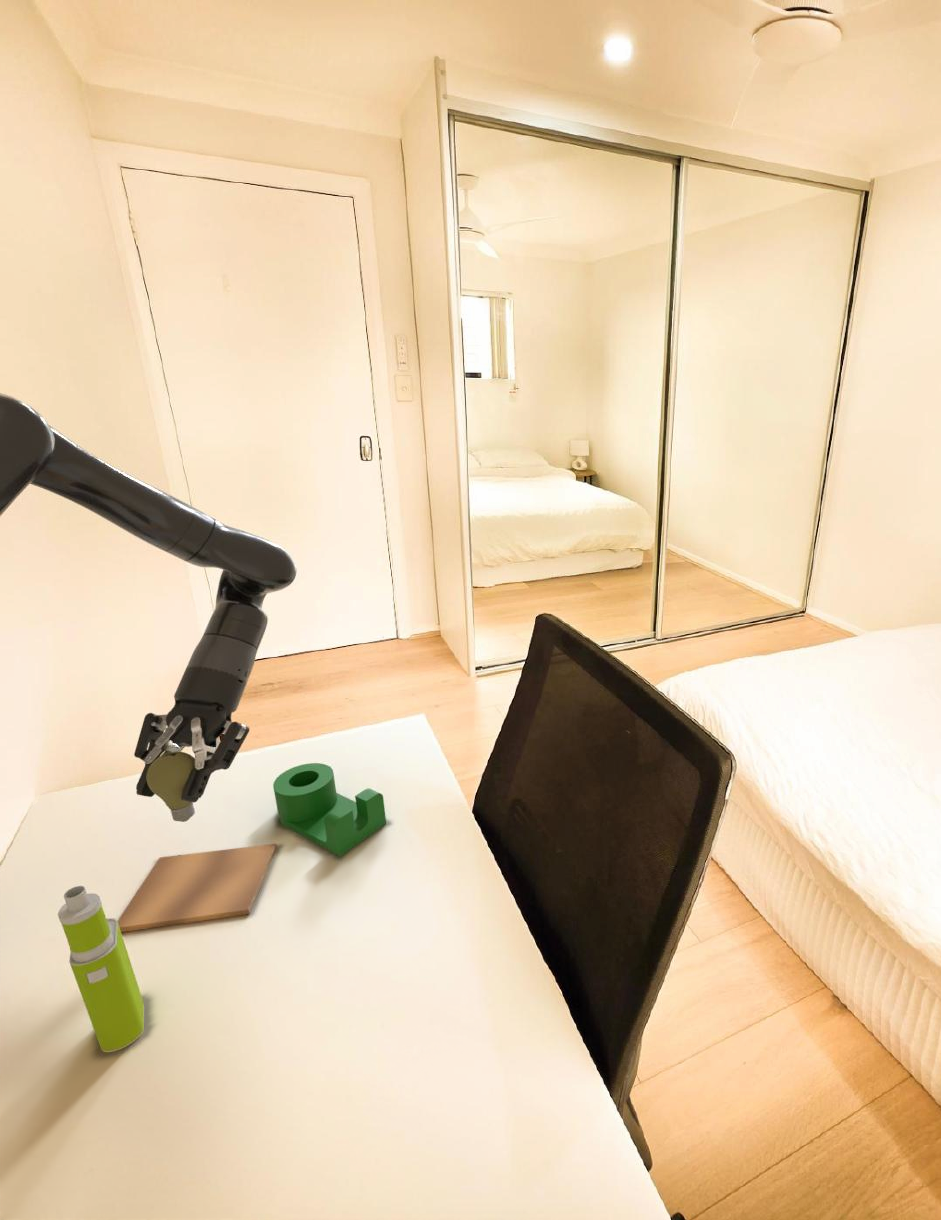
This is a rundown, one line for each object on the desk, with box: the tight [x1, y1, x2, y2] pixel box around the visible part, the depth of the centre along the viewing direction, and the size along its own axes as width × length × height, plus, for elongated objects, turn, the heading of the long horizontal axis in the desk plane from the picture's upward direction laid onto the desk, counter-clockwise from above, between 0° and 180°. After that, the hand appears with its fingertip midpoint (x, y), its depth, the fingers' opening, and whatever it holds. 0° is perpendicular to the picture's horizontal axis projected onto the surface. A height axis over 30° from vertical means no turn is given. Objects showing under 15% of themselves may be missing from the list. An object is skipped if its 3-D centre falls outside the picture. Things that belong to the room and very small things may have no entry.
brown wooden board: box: [117, 843, 278, 933], centre depth 85 cm, size 16×13×1 cm
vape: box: [57, 885, 145, 1053], centre depth 63 cm, size 4×6×20 cm, turn 36°
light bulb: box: [146, 751, 196, 823], centre depth 78 cm, size 6×6×10 cm
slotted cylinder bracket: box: [272, 762, 387, 857], centre depth 99 cm, size 18×9×6 cm, turn 61°
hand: (166, 798), depth 76 cm, fingers closed on light bulb, 5 cm apart
